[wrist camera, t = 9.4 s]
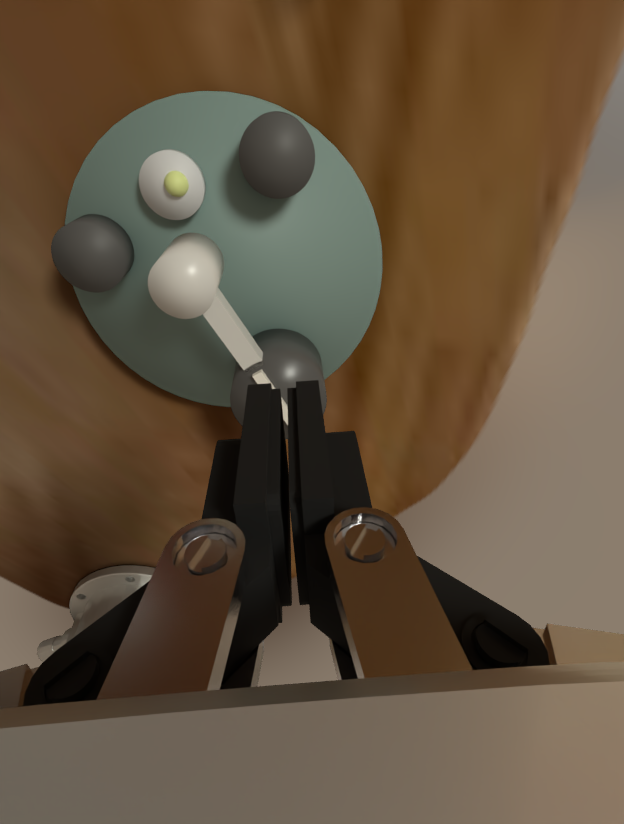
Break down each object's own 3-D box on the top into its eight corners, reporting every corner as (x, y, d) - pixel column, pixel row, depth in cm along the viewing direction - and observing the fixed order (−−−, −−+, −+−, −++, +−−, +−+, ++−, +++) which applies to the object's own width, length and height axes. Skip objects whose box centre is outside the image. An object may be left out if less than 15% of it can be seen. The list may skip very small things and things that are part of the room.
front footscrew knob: (336, 381, 31) (346, 433, 26) (265, 416, 32) (262, 472, 28) (226, 201, 25) (212, 226, 20) (143, 254, 26) (111, 289, 21)
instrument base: (187, 430, 35) (178, 460, 32) (3, 192, 25) (-34, 205, 22) (415, 333, 31) (429, 357, 28) (301, 15, 22) (303, 2, 19)
